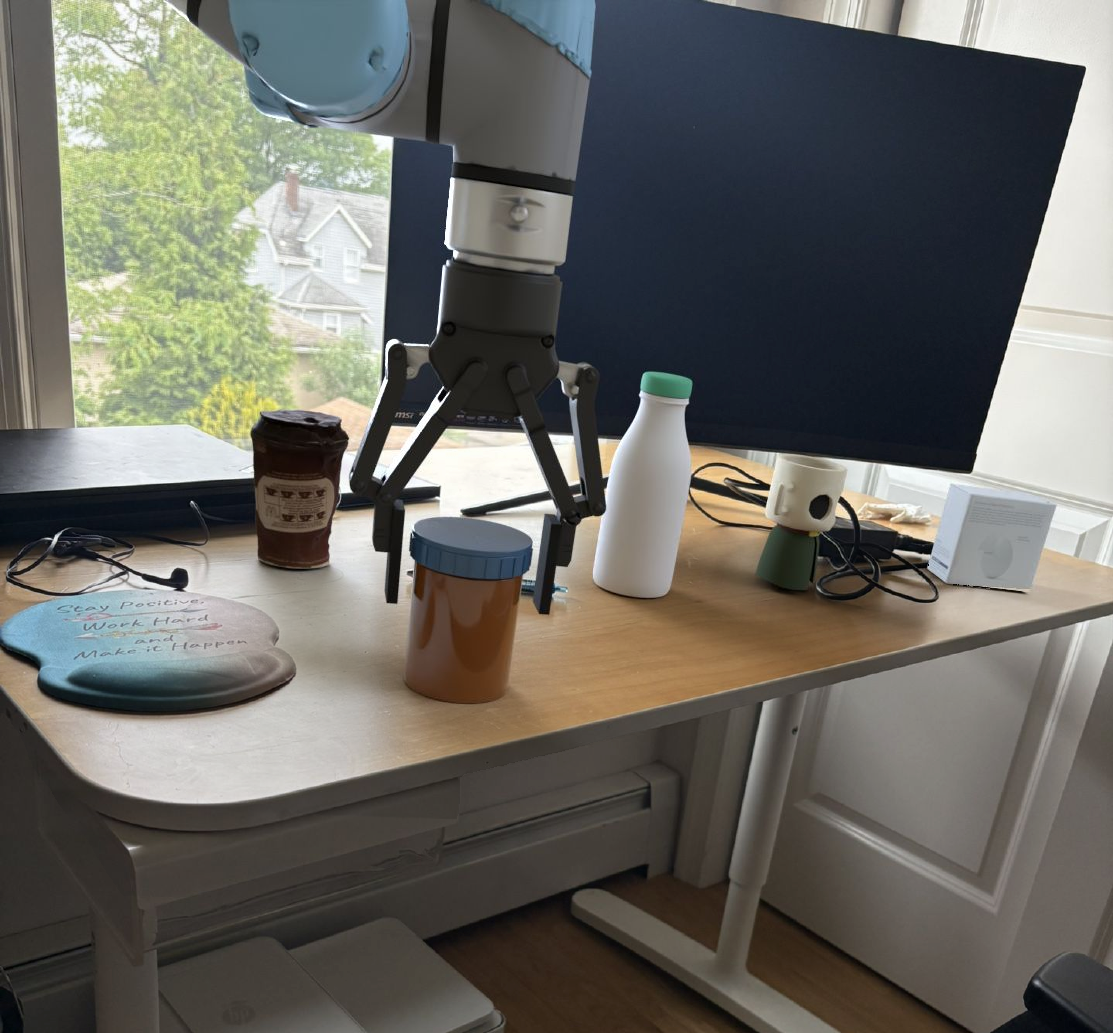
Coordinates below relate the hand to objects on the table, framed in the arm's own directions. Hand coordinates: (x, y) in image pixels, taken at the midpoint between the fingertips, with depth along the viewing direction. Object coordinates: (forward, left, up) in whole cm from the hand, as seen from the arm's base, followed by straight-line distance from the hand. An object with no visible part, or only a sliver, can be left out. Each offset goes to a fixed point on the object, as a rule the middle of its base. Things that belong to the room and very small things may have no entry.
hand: (466, 602), depth 80 cm
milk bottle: (+20, +27, -6) cm, 34 cm away
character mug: (+38, +32, -6) cm, 50 cm away
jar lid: (0, 0, +5) cm, 5 cm away
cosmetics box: (+66, +41, -6) cm, 78 cm away
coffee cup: (-12, +26, -6) cm, 29 cm away
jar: (0, 0, -6) cm, 6 cm away
